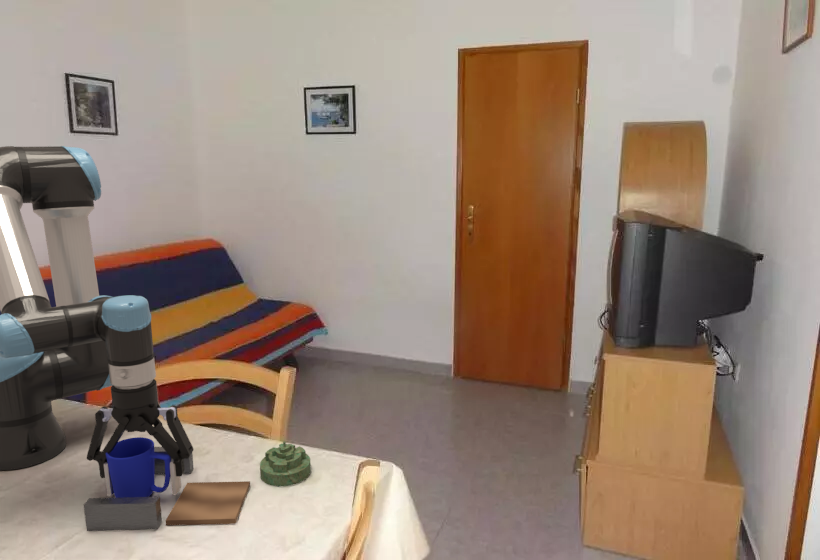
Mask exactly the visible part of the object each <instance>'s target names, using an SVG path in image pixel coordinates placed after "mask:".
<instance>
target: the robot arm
mask: <svg viewBox="0 0 820 560" xmlns="http://www.w3.org/2000/svg"><path fill="white" fill-rule="evenodd" d="M101 188H102V184H101V178H100V174H99V170H98V168H97V165H96V163H95V161H94V159H93V157H92V156H91V154H90V152H88V151H87V150H86V149H84V148H81V147H75V146H74V147H73V146H64V145H61V146H11V145H10V146H9V145H8V146H7V145H6V146H0V471H10V470H19V469H24V468H28V467H33V466H36V465H39V464H41V463H43V462H47V461H49V460H50V459H53V458H54V457H56V456H57V455H59V454H60V453H61V452H63V451H64V449H65V448H66V446H67V442H66V434H65V432H64V430H63V429H62V427H61V425H60V423H59V421H58V420H57V418H56V416H55V415H54V412H53V406H52V401H56V400H59V399H65V398H68V397H73V396H77V395H81V394H86V393H89V392H95V391H101V390H102V389H105V388H110V393H111V404H112V406H113V407H112V408H108V407H107V406H102V407H101V408H100V409H99V410H97V411H96V412H95V414H94V416H95V417H94V418H95V427H94V430H93V433H92V437H91V440H90V443H89V448H88V451H87V454H86V459H87V460H88V461H90V462H91V461H95V462H97V463H98V468H99V475H100V478H101V479H104V480H105V488H106V496H107V497H112V496H113V495H114V491H113V486H112V482H111V477H110V472H109V468H108V463H107V458H106V453H108V454H109V453H111V451H112V450H113V449H114V447H115V446H116V444H117V443H118V442H119V441H120V439H121V438H122V437H123V434H125V431H127V433H133V432H139V433H145V432H146V433H148V435H149V436H152V437H153V438H154V439H155V441H157V443H158V444H159V445H160V447H163V448H164V450H165V451H166V452H167V453H168V454H169V456H170V457H171V458H172V460H171V462H170V475H171V477H170V485H171V495H172V496H173V495H174V496H177V494H178V492H179V491H180V489H181V488H182V483H181V482H182V481H181V477H182V475H184V474H183V473H184V470H185V468H184V458H186V459H187V458H189V457H190V455H191V453H192V454H193V452H194V447H193V444H192V443H191V440H190V438H189V436H188V434H187V433H186V430H185V428H184V426H183V424H182V421H181V420H180V418H179V416H178V406H176V405H174V404H173V405H171V406H170V407H161V406H160V404H159V394H158V384H157V380H156V379H155V378H156V377H157V374H156V373H157V372H156V363H155V356H154V355H155V353H154V342H153V341H154V340H153V333H152V313H151V311H150V305H149V301H148V299H147V298H145V297H144V296H142V295H135V294H134V295H133V294H132V295H118V296H111V295H100V293H99V284H98V279H97V272H96V265H95V264H96V263H95V257H94V250H93V244H92V243H93V242H92V235H91V229H90V221H89V216H90V214H91V212H92V211H93V210H95V204H94V203H95V202H94V201H97V200H99V199H100V198H101V196H102V189H101ZM23 204H31V206H32V212H33V213H34V214H35V215H37V216H38V217H40V218H41V219H42V223H43V228H44V234H45V241H46V247H47V249H46V250H47V255H48V260H49V267H50V268H49V269H50V273H51V274H50V275H51V281H52V282H51V283H52V286H53V287H52V288H53V292H54V300H55V305H56V306H53V307H52V305H51V302H50V298H49V296H48V292H47V289H46V286H45V283H44V279H43V277H42V274H41V271H40V267H39V264H38V262H37V258H36V256H35V253H34V249H33V245H32V242H31V240H30V237H29V234H28V230H27V228H26V225H25V222H24V219H23V216H22V213H21V209H22V207H23V206H24V205H23ZM159 416H161V417H162V418H163V421H166V424H167V427H168V429H169V431H170V433H171V434H170V433H169V432H168V431H167V430H166V429H165V427H164V426H163V422H162V421H161V420H160V418H159ZM111 418H113V419H114V421H116V423H118V425H117V426H116V427H115V430H113V434H112V435H111V437H110V438H109V440H108V441H107V443H106V444H105V446H104V448H103V450H101V447H102V445H103V440H104V437H105V433H106V431H107V428H108V423H109V420H110V419H111Z"/></svg>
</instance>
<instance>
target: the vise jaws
mask: <svg viewBox="0 0 820 560" xmlns="http://www.w3.org/2000/svg"><path fill="white" fill-rule="evenodd" d="M154 452H155V453H163V454H168V453H167V452H166V451H165V450H164V448H163V447H162V446H154ZM168 455H169V454H168ZM193 456H194V454H193V452H192V453H191V455H190V457H189V458H187V459H186V458H184V468H185V470H184V473H183V474H182V475H187V474H188V475H189V474H192V472H193V470H194V459H193V458H194V457H193ZM171 460H172V458H171ZM154 466H155V475H165V461H164V460H162V459H156V458H154ZM83 511H84V519H85V527H86V532H92V531H94V532H98V531H100V532H101V531H103V532H104V531H138V530H141V531H142V530H159V528H160V526H161V525H162V523H163V520H162V519H163V518H162V506H161V498H160V496H149V497H118V498H116V497H89V498H88V499H87V500H86V501H85V502H84V504H83Z"/></svg>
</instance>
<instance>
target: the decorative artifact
mask: <svg viewBox="0 0 820 560" xmlns="http://www.w3.org/2000/svg"><path fill="white" fill-rule="evenodd" d="M278 445H279V446H278V447H272V448H270V449H268V450H266V452H265V453H264V455H265V456H264V457H263V458H262V459H261V461H260V463H259V470H260V474H259V475H260V479H261V481H262V482H264V483H265V484H266V485H269V486H273V487H289V486H294V485H298V484H300V483H302V482H303V481H305V480H306V479H308V477H309V476H310V475H311V473H312V472H311V471H312V468H311V467H312V466H311V457H310V456H309V454H307V453H306V452H307V451H306V450H305V448H303V447H302V446H300V445H299V446H297V447H296V445H295V444H293V443H287V442H286V441H283V443H280V444H278Z"/></svg>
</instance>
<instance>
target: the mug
mask: <svg viewBox="0 0 820 560" xmlns="http://www.w3.org/2000/svg"><path fill="white" fill-rule="evenodd" d="M154 447H155V442H154V441H153V440H152V439H151V438H147V437H130V438H126V439H122V440H119V441H118V443H117V444H116V446H115V447H114V449H113V450H112V451H111V453H109V454H108V453H106V458H107V463H108V468H109V472H110V477H111V482H112V486H113V491H114V494H113V495H114V498H118V497H151V495H153V493H163V492H164V491H166V490H167V488H168V487H169V485H170V484H171V475H170V462H171V457H170V456H169V455H168V454H163V453H155V452H154ZM154 458H156V459H162V460H164V461H165V474H164V482H163V486H161V487H160V486H157V485H156V484H155V483H156V480H155V478H156V477H155V475H156V474H155V466H154Z"/></svg>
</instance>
